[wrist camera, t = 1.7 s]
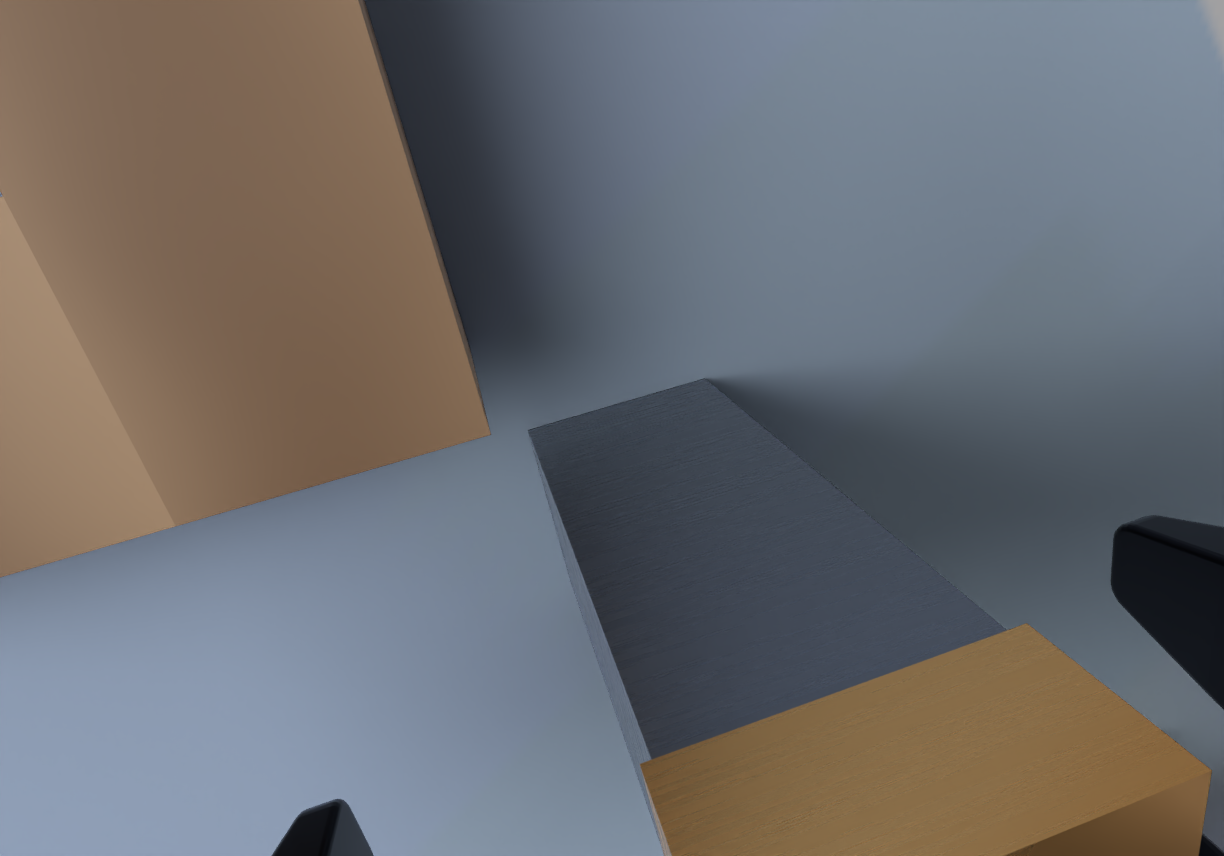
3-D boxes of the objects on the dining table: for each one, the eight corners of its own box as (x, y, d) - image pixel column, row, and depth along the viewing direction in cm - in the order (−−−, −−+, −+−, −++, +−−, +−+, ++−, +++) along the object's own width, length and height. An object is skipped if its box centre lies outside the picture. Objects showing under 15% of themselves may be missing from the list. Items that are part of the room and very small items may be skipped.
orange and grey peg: (709, 371, 12) (1212, 769, 4) (737, 535, 13) (1165, 1066, 6) (520, 426, 12) (713, 974, 4) (567, 590, 13) (782, 1244, 5)
